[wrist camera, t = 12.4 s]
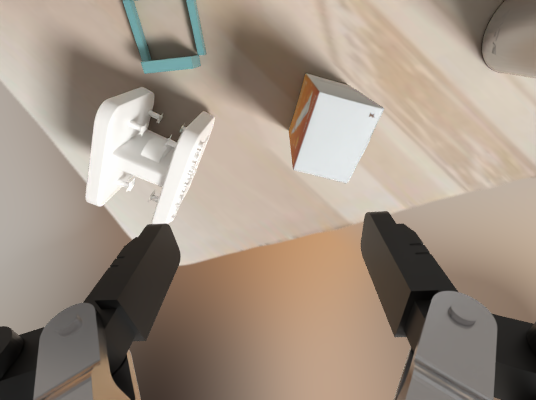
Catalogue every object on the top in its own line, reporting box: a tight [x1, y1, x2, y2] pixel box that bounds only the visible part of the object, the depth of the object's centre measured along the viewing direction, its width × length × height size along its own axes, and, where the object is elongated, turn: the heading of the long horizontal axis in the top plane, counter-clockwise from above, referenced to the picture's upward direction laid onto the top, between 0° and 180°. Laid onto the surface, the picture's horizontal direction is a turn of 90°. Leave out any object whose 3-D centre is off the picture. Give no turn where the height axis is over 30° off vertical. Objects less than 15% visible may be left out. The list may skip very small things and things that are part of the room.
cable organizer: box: [86, 87, 215, 224], centre depth 33 cm, size 15×11×12 cm
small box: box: [289, 73, 384, 183], centre depth 29 cm, size 8×6×13 cm
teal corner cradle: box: [123, 0, 206, 74], centre depth 28 cm, size 8×8×4 cm
